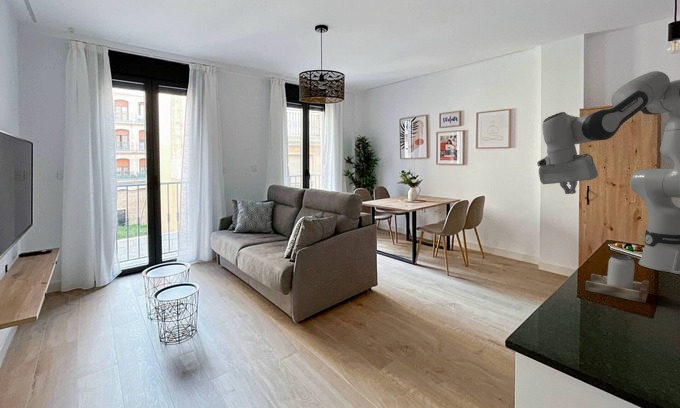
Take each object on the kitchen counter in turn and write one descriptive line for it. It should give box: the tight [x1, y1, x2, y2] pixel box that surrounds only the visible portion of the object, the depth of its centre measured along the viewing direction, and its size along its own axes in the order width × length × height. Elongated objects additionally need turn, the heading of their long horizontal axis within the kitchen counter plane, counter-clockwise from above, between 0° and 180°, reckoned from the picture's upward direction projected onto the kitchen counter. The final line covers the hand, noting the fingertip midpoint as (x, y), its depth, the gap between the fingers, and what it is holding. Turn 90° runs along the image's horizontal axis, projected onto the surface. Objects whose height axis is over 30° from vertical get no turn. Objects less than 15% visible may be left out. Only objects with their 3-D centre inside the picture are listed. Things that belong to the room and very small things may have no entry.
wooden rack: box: [584, 273, 650, 304], centre depth 109 cm, size 15×10×4 cm
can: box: [606, 254, 636, 289], centre depth 108 cm, size 6×6×12 cm
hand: (570, 193), depth 123 cm, fingers closed
